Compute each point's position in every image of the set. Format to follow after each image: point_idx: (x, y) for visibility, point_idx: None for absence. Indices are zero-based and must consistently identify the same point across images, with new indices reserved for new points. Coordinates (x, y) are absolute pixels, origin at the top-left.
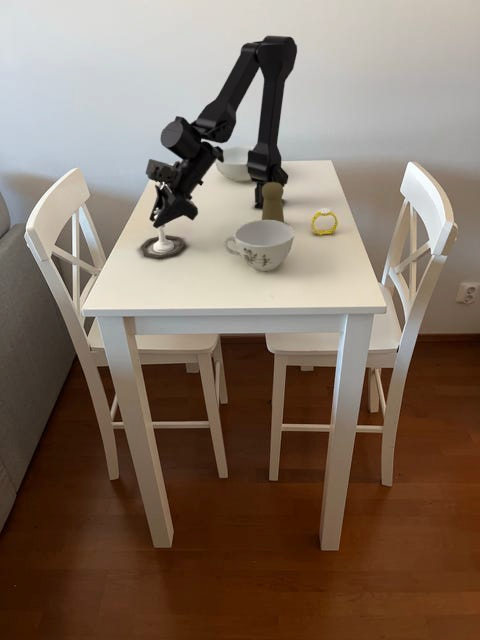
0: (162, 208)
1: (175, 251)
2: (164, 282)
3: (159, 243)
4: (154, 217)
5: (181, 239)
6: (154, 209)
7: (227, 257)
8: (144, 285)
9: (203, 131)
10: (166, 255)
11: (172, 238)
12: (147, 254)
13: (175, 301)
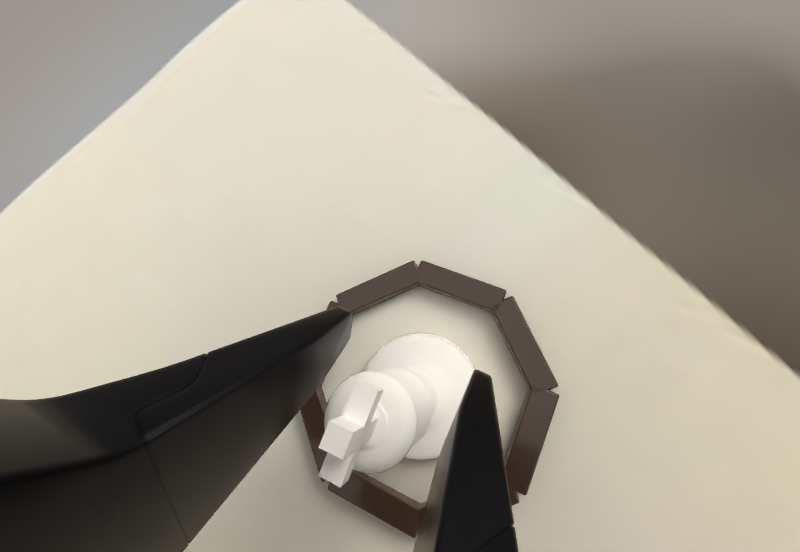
0: (144, 410)
1: None
2: (192, 204)
3: (409, 365)
4: (382, 374)
5: (388, 522)
6: (449, 456)
7: None
8: (240, 141)
9: None
10: None
11: None
12: (403, 270)
13: (90, 167)
